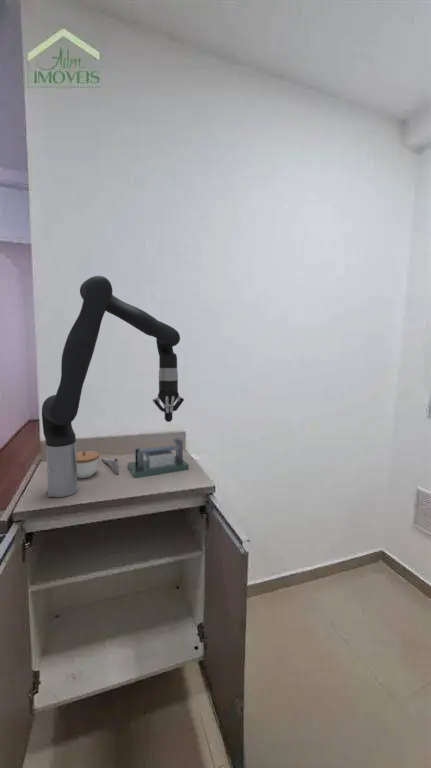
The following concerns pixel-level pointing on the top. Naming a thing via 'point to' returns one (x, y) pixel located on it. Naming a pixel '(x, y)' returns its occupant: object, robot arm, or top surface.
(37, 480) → the top surface
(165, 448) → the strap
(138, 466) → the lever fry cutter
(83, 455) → the lidded jar
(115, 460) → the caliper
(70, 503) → the top surface
